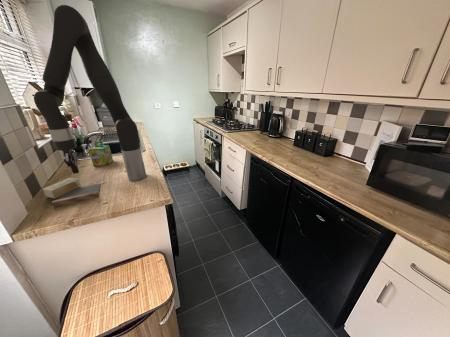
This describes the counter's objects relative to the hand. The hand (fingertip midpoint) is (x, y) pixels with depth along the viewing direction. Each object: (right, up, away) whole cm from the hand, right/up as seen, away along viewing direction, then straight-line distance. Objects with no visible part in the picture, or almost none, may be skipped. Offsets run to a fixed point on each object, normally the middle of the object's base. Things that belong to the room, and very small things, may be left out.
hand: (76, 172), depth 89 cm
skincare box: (-3, -5, +4) cm, 7 cm away
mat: (+3, -10, -1) cm, 10 cm away
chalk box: (-9, +5, +33) cm, 35 cm away
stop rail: (+6, -13, -7) cm, 16 cm away
